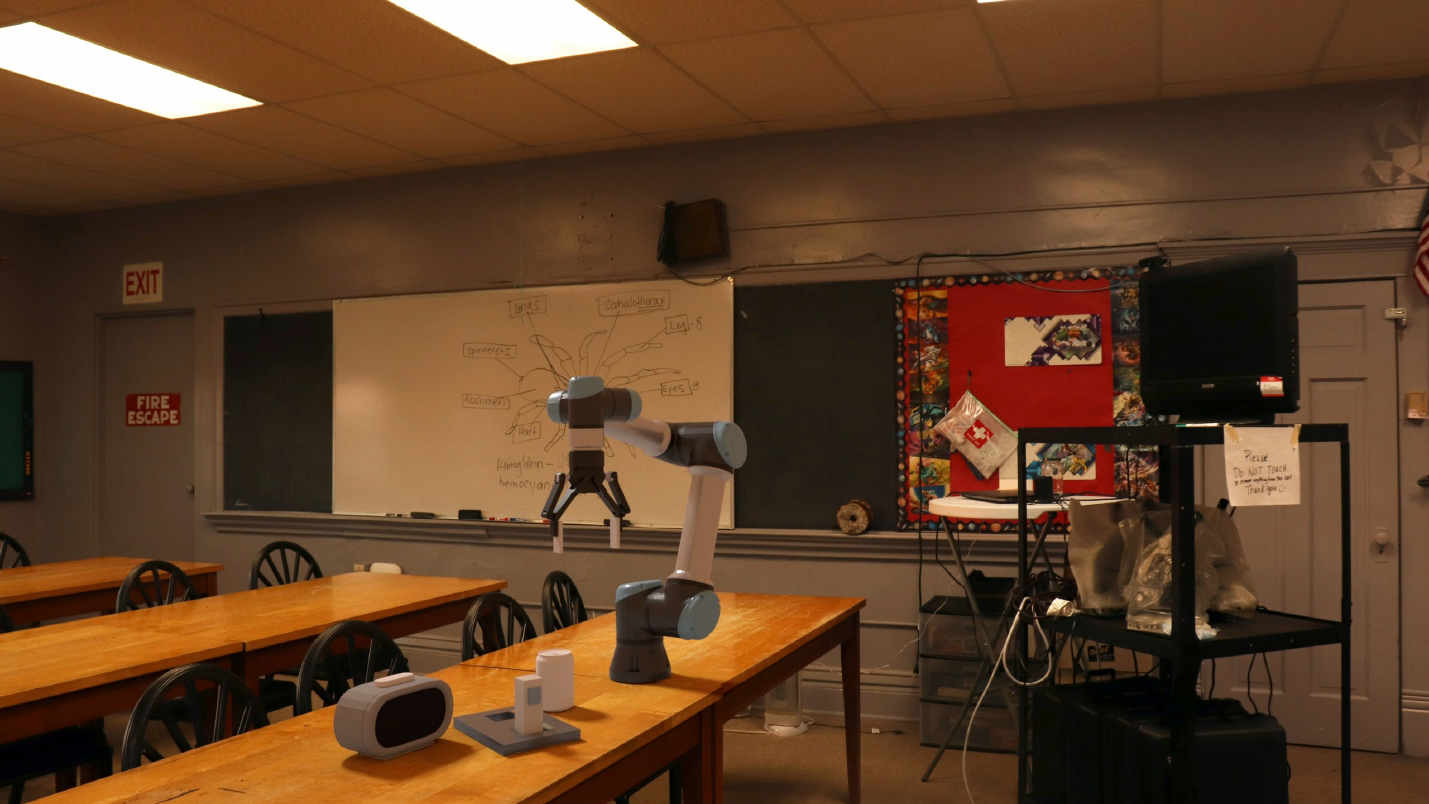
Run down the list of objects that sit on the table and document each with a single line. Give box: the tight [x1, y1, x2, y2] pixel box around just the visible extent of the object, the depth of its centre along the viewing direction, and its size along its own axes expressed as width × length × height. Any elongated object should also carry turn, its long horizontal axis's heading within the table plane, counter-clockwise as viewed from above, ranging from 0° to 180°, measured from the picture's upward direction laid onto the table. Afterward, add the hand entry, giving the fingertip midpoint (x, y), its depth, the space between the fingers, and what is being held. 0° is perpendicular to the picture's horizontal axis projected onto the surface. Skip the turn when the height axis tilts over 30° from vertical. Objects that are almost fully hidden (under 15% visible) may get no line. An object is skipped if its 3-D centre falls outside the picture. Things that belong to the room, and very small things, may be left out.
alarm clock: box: [333, 672, 454, 762], centre depth 187 cm, size 21×10×13 cm, turn 148°
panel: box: [452, 705, 582, 757], centre depth 195 cm, size 16×24×2 cm, turn 37°
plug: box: [514, 673, 544, 736], centre depth 191 cm, size 4×5×12 cm
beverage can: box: [535, 648, 575, 713], centre depth 214 cm, size 8×8×12 cm
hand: (587, 550), depth 208 cm, fingers open, 13 cm apart
